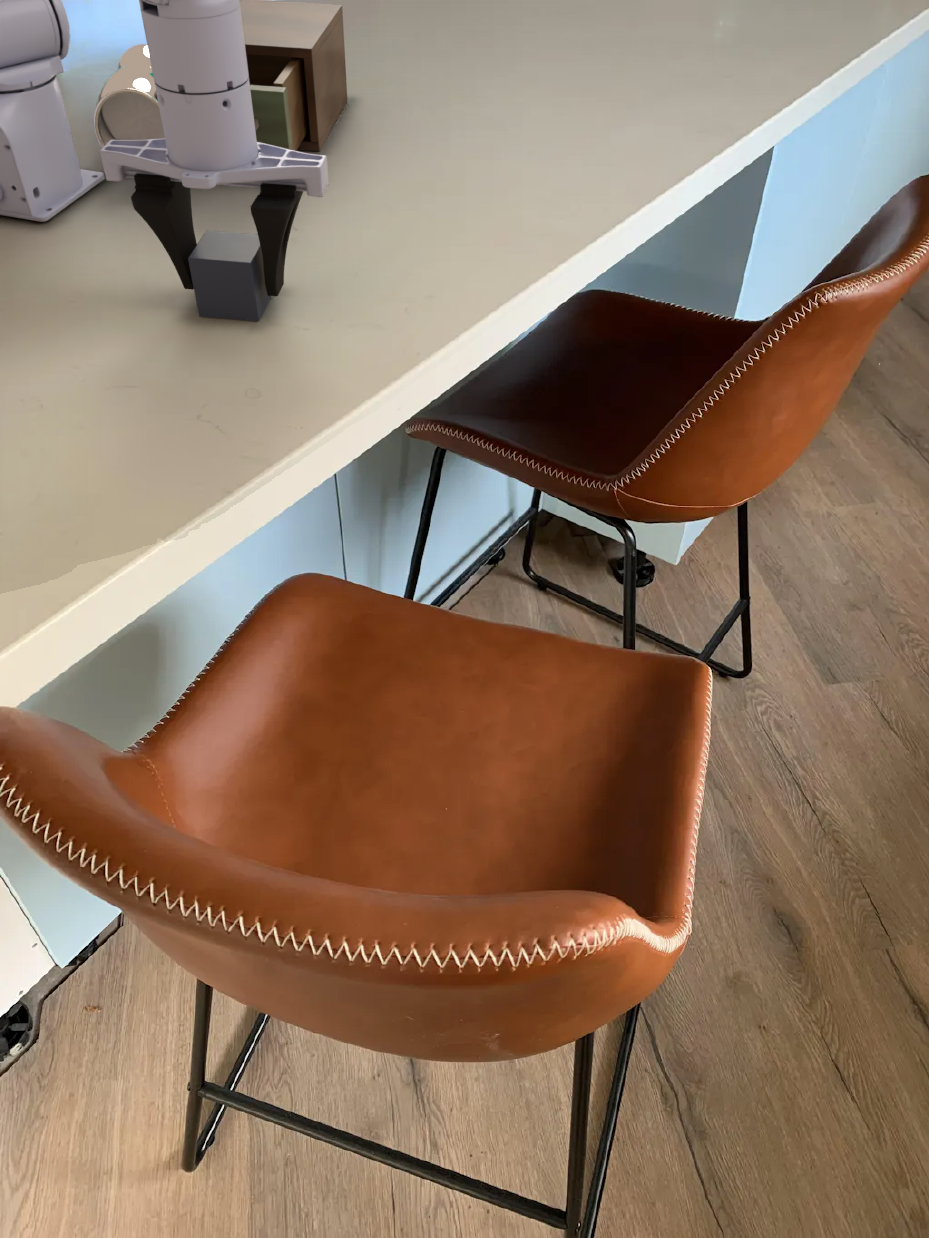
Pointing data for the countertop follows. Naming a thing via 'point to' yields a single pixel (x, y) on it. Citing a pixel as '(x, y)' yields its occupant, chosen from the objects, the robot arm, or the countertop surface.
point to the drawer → (278, 100)
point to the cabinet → (303, 54)
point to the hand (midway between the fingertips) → (234, 286)
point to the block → (229, 276)
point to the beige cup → (129, 101)
